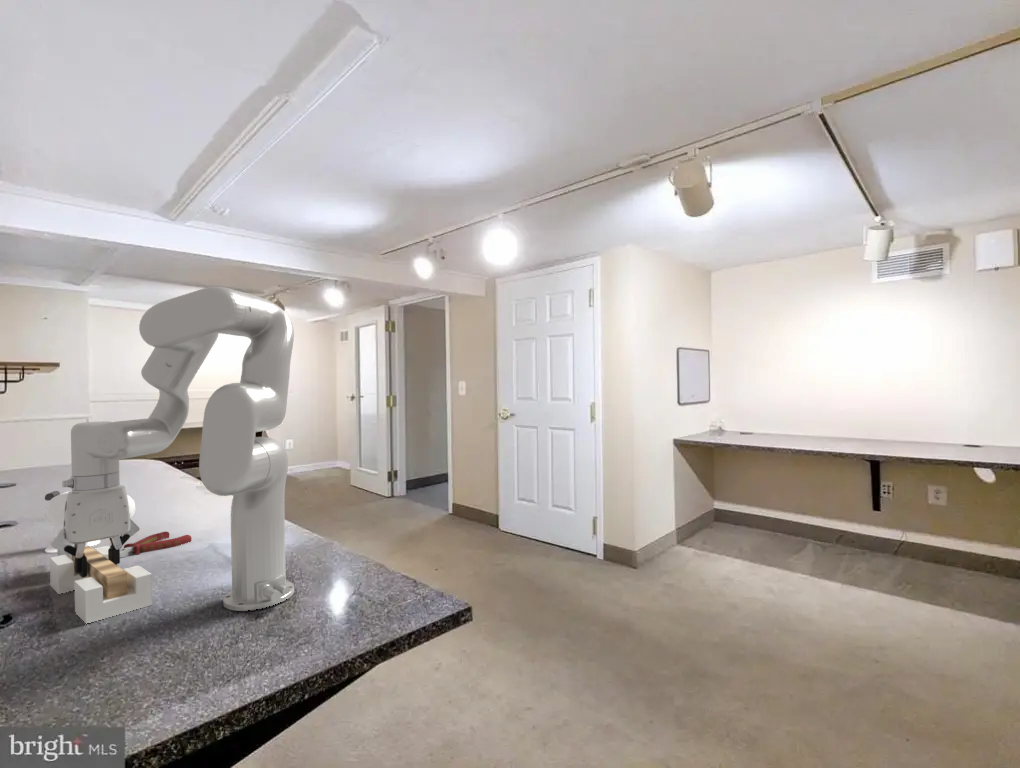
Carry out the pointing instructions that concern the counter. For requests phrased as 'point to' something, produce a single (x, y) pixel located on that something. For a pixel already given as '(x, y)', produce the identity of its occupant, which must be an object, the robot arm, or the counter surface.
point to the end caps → (100, 589)
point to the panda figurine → (58, 515)
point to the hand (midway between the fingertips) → (98, 571)
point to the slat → (105, 573)
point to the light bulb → (131, 506)
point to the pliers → (153, 544)
